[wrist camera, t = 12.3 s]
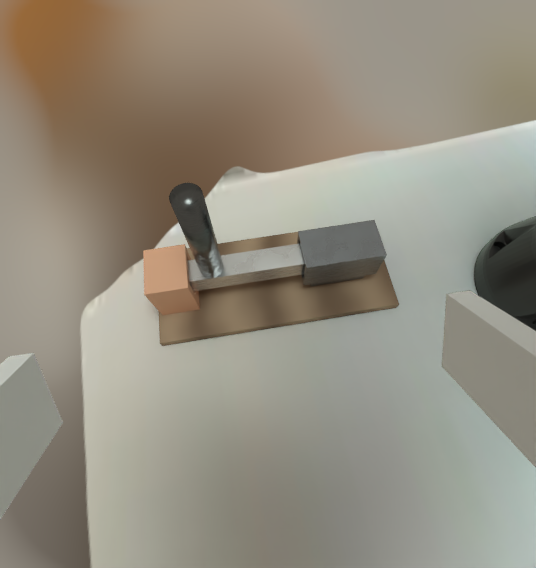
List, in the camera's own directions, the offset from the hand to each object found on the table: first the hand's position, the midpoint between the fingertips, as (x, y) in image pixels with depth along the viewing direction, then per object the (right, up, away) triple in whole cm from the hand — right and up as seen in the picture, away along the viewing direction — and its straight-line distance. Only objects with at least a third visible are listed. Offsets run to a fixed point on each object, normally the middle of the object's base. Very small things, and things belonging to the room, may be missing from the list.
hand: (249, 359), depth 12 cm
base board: (+2, +3, +30) cm, 30 cm away
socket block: (-9, +1, +28) cm, 30 cm away
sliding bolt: (-2, +4, +27) cm, 27 cm away
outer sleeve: (+8, +4, +29) cm, 31 cm away
